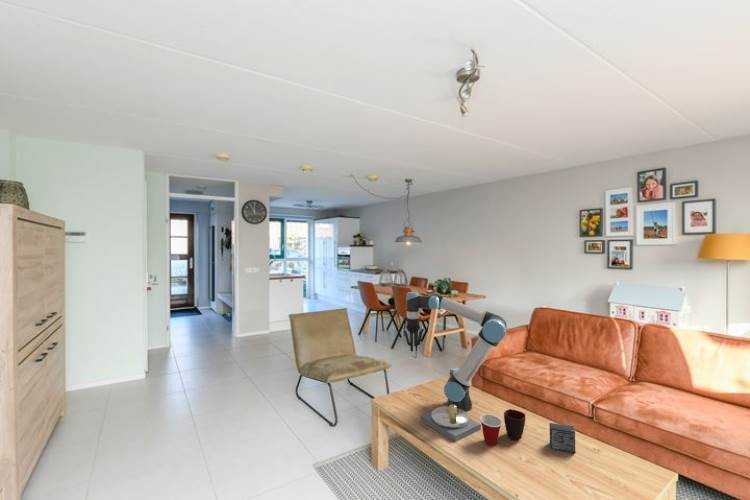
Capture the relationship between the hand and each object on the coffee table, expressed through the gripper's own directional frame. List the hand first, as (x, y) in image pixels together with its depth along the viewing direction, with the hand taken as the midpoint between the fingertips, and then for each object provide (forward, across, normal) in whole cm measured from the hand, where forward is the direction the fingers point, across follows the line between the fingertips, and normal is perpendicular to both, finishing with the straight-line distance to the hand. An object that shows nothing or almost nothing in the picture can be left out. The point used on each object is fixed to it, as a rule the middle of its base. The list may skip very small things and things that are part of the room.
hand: (413, 356), depth 212 cm
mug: (+33, -43, +38) cm, 67 cm away
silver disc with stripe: (+29, -14, +22) cm, 39 cm away
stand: (+33, -14, +22) cm, 41 cm away
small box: (+34, -59, +52) cm, 86 cm away
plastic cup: (+33, -27, +42) cm, 60 cm away
